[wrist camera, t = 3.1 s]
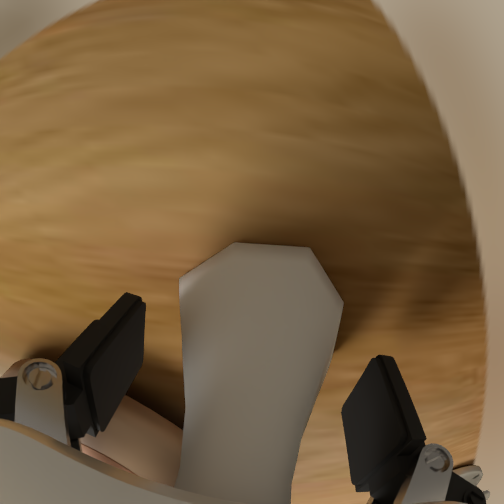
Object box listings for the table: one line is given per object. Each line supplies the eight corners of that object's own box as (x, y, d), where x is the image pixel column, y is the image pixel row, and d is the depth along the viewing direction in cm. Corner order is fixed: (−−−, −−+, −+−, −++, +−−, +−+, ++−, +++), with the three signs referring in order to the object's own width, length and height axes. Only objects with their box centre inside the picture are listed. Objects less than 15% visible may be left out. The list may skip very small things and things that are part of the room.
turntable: (266, 431, 13) (264, 460, 12) (213, 523, 20) (210, 537, 19) (-19, 314, 14) (-35, 327, 12) (41, 454, 20) (35, 465, 19)
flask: (326, 217, 11) (452, 466, 2) (351, 362, 13) (390, 560, 4) (155, 260, 12) (-8, 442, 3) (211, 385, 15) (160, 561, 5)
